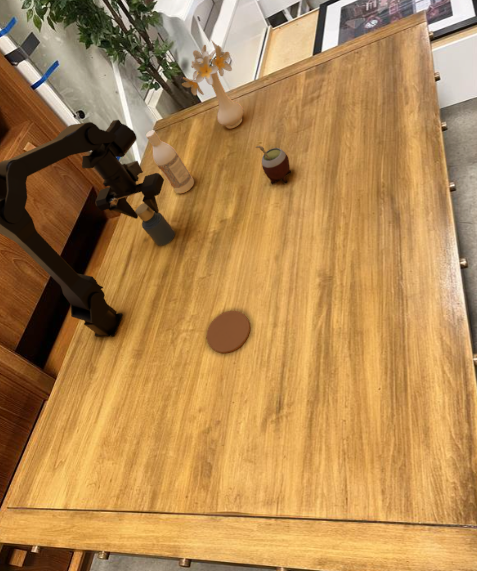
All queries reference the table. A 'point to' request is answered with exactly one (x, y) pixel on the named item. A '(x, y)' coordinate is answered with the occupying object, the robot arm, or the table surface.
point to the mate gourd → (275, 164)
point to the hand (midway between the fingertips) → (147, 214)
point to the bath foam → (170, 164)
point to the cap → (144, 212)
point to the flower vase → (215, 83)
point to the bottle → (159, 229)
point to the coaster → (228, 331)
